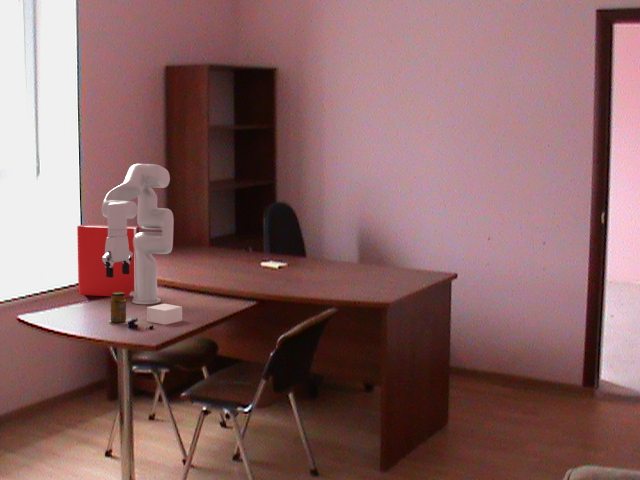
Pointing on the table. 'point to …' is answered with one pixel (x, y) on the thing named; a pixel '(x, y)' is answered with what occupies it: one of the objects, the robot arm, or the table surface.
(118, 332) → the table surface
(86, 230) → the book
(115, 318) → the condiment
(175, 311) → the cream block
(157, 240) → the robot arm
